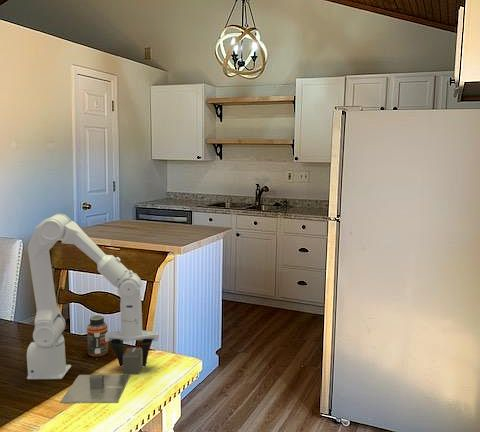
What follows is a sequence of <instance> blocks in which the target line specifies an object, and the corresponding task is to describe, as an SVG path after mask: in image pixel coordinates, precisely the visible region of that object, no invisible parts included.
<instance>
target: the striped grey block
mask: <svg viewBox="0 0 480 432" xmlns="http://www.w3.org/2000/svg"><path fill="white" fill-rule="evenodd" d="M122 361H123V365H122V375H140V373H141V371H142V369H143V367H144V366H143V353H142V347H131V348H130V347H129V348H126V349H125V352H123V357H122Z"/></svg>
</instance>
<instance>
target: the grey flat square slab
mask: <svg viewBox="0 0 480 432" xmlns="http://www.w3.org/2000/svg"><path fill="white" fill-rule="evenodd" d="M130 377H131V374H78V376H77V377H76V378H75V379H74V381H73V383H72V384H71V386H70V387H69V389H68V390H67V391H66V392H65V394H64V395H63V397H61V400H60V401H59V403H60V404H77V403H78V404H88V403H89V404H91V403H94V404H98V403H100V404H101V403H103V404H104V403H106V404H107V403H116V404H117V403H119V401H120V398H121V397H122V394H123V392H124V390H125V388H126V387H127V384H128V382H129V380H130ZM80 402H81V403H80ZM85 402H86V403H85Z"/></svg>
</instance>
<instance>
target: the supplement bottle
mask: <svg viewBox="0 0 480 432" xmlns="http://www.w3.org/2000/svg"><path fill="white" fill-rule="evenodd" d="M107 332H109V331H108V324H107V323H106V322H105V317H104V316H103V315H92V316H91V317H90V318H89V324H88V325H87V326H86V335H87V353H88V355H89V356H90V357H95V358H97V357H98V358H99V357H103V356H105V355H106V354H108V352H109V341H105V334H106V333H107Z"/></svg>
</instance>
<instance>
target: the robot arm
mask: <svg viewBox="0 0 480 432" xmlns="http://www.w3.org/2000/svg"><path fill="white" fill-rule="evenodd" d="M59 240H61V244H66V245H67V244H68V245H74V246H75V247H77V248H78V249H79V250H80V251H81V252H82V253H84V254H85V255H86V256H87V257H89V259H91V260H92V261H93V262H95V263H96V265H97V266H96V267H97V268H96V269H97V272H99V274H100V275H102V276H103V277H104V278H105V279H106V280H107V281H108V282H109V283H110V284H111V285H112V286H114V287H115V288H117V290H116V291H117V293H118V295H119V298H120V303H119V309H120V310H119V311H120V330H118V331H108V332H107V333H106V334H105V341H108V342H110V341H111V343H110V348H111V349H112V351H113V352H114V354H115V357H116V358H117V361H118V365H119V367H123V361H122V357H123V355H124V341H142V343H141V344H140V345H141V348H142V353H143V367H146V365H147V363H148V362H147V361H148V356H149V353H150V349H151V346H152V343H153V342H158V341H159V339H160V338H159V336H160V331H152V330H151V331H150V330H143V312H142V311H143V310H142V306H143V305H142V300H141V299H142V296H141V289H142V285H143V283H142V279H141V278H140V276H139V275H138V273H135V272H133V270H131V269H128V268H127V267H126V265H124V264H123V263H122V262H121V258H120V257H118V256H117V257H115V256H114V255H112V254H106V253H105V252H104V251H103V250H102V249H101V248H100V247H99V246H98V245H97V244H96V243H95V241H93V240H92V239H91V238H90V237H89V236H88V235H87V234H86V232H84V230H83V229H82V228H81V227H80V226H79V225H78V223H76V222H75V221H73V220H71V218H70V217H69V216H67V215H66V214H64V213H56V214H54V215H52V216H51V217H48V218H46V219H45V218H44V219H43V220H42V221H40V223H39V224H38V225H36V226H35V228H34V232H33V234H32V236H31V238H30V240H29V243H28V245H27V254H28V260H29V267H30V268H29V269H30V273H31V281H32V286H33V287H32V288H33V294H34V301H35V307H36V313H35V318H34V329H33V332H32V339H33V341H32V342H30V344H29V345H28V347H27V351H26V364H27V377H26V379H27V380H62V379H63V378H64V377H65V375H66V374H67V373H68V372H69V370H70V369H71V367H72V365H71V364H67V362H66V345H65V338H64V335H63V332H64V331H65V329H66V319H65V318H64V317H63V315H62V312H61V309H60V307H59V306H58V305H57V297H56V289H55V283H54V276H53V269H52V262H51V256H50V249H52V248H53V247H54V245H55V244H56V243H57V242H59Z"/></svg>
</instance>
